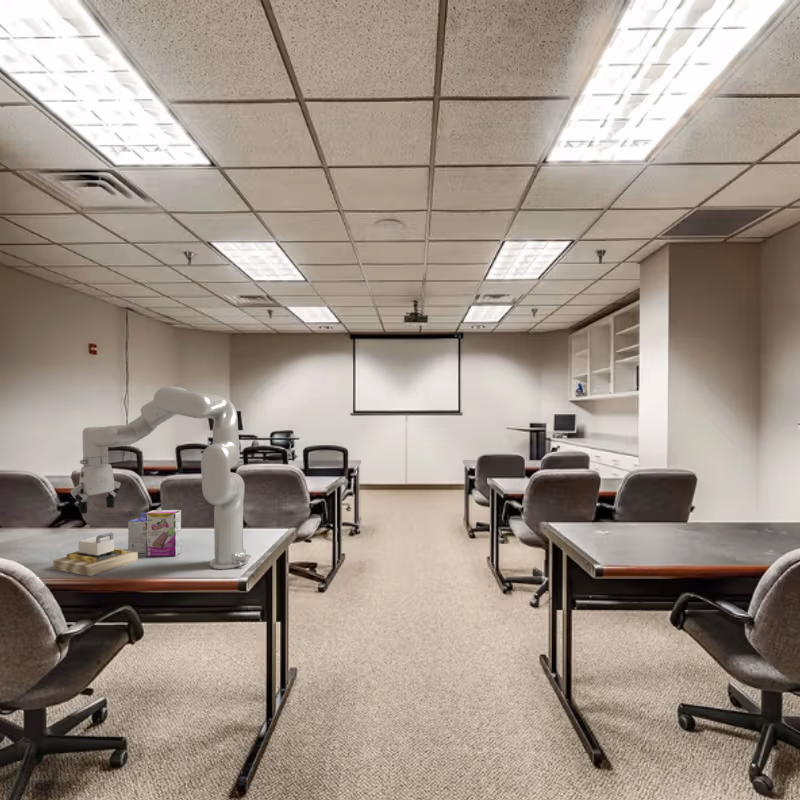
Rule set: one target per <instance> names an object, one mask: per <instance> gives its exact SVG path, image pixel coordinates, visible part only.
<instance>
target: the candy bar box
mask: <svg viewBox="0 0 800 800" xmlns="http://www.w3.org/2000/svg"><path fill="white" fill-rule="evenodd" d="M145 513H146V514H145V516H146V553H145V556H146V557H147V558H149V557H150V558H152V557H154V558H155V557H161V556H164V557H177V556H178V555H180V554H181V553H182V510H181V509H171V510H170V509H168V510H167V509H165V510H164V509H162V510H161V509H160V510H159V509H158V510H155V509H154V510H150V511H147V512H145ZM176 555H177V556H176Z"/></svg>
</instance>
